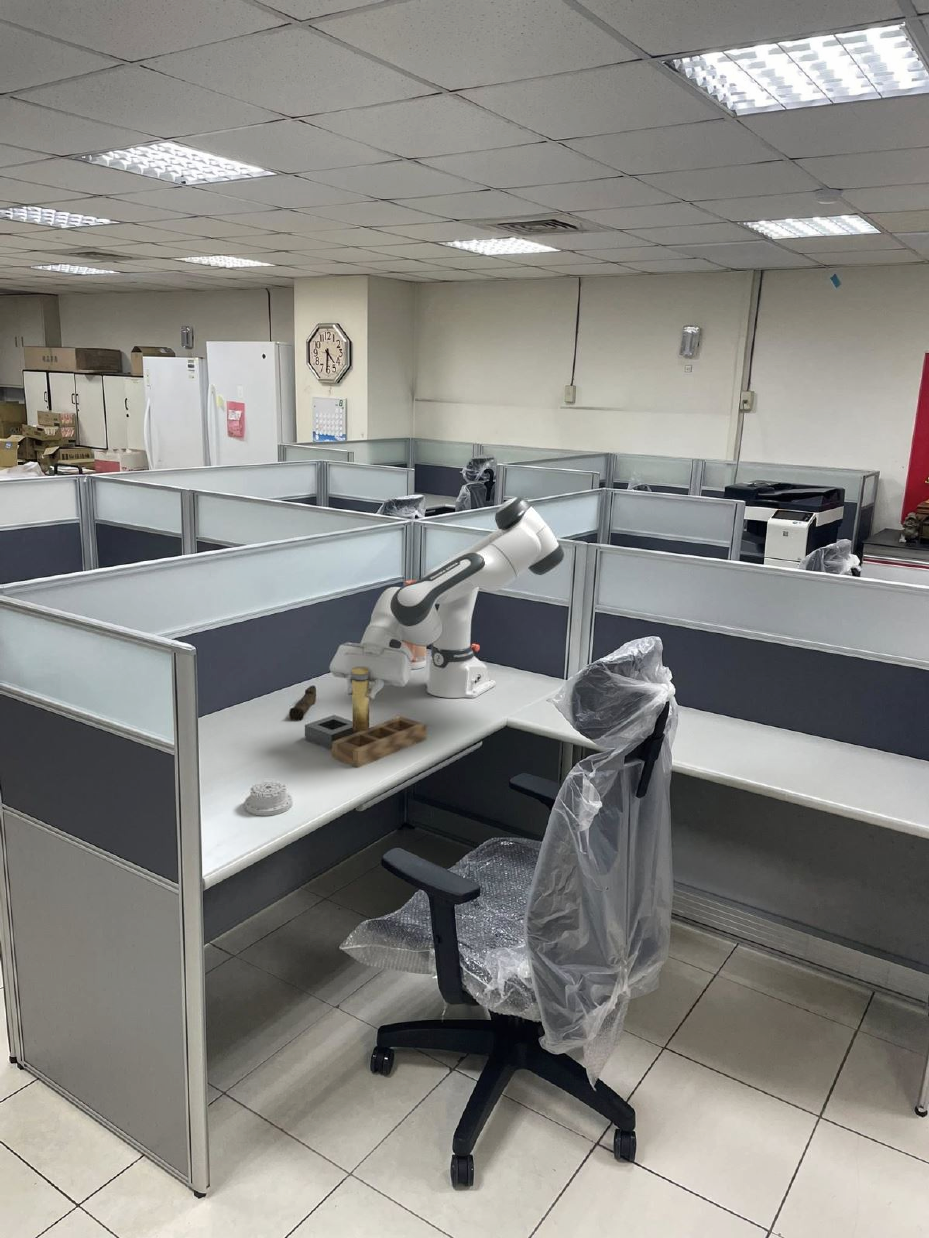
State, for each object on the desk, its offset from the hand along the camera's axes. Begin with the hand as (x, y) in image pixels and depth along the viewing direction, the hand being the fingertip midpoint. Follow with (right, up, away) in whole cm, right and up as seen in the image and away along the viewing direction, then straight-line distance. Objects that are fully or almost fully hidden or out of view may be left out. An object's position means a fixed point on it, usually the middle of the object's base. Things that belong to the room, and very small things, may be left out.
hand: (359, 695), depth 212 cm
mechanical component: (-17, -22, -22) cm, 35 cm away
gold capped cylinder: (0, -8, +3) cm, 8 cm away
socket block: (-9, -12, +15) cm, 21 cm away
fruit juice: (+8, +3, +78) cm, 79 cm away
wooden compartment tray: (+4, -14, +10) cm, 17 cm away
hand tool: (-20, -7, +36) cm, 42 cm away
